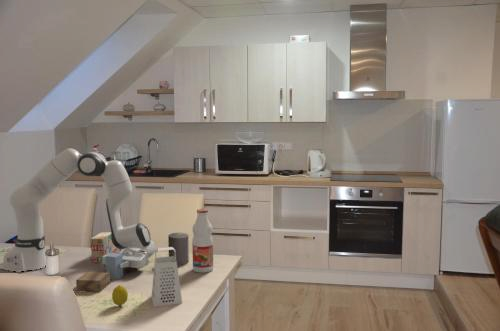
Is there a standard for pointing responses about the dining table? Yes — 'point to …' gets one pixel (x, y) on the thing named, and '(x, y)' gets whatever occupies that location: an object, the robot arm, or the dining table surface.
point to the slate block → (114, 265)
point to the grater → (166, 280)
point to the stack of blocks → (102, 246)
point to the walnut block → (93, 281)
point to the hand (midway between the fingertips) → (113, 265)
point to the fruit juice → (202, 243)
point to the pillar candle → (179, 247)
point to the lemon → (119, 295)
